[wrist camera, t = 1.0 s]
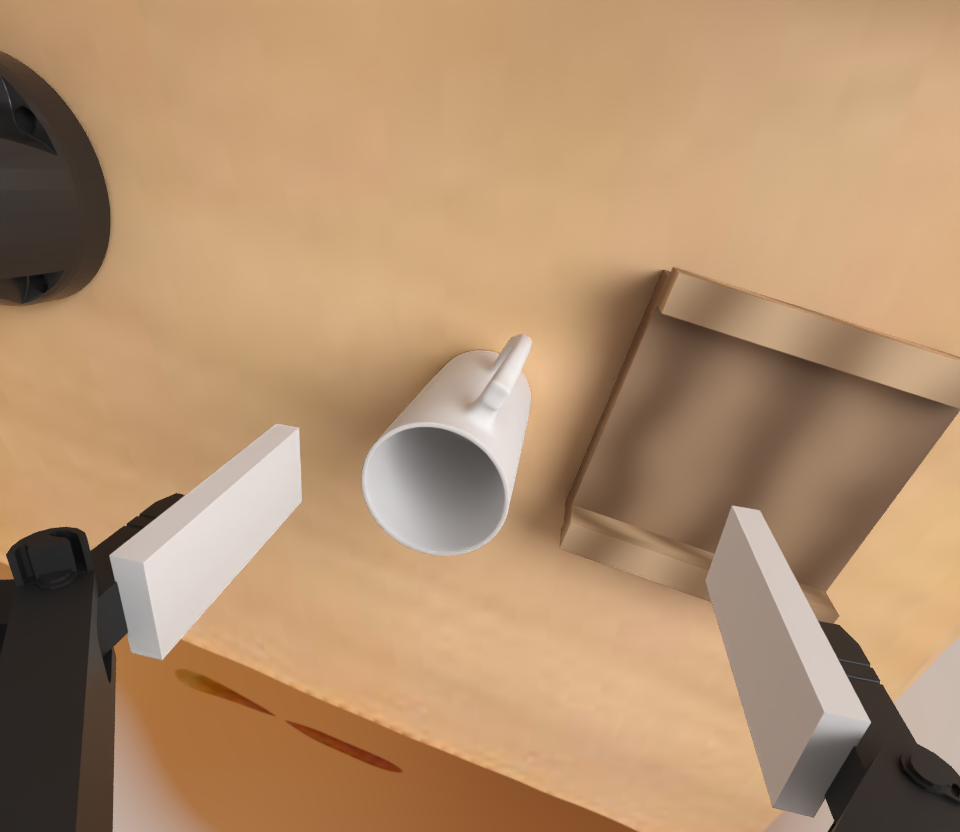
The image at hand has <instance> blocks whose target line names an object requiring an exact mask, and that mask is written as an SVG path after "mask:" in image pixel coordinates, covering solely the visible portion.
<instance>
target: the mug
mask: <svg viewBox="0 0 960 832" xmlns="http://www.w3.org/2000/svg"><path fill="white" fill-rule="evenodd" d="M531 346H532V340H531V339H530V338H529V337H528V336H526V335H524V334H519V335H517V336H514V337H512V338H511V339H510V340H509V341H508V342H507V344H506V345H505V347H504V348H503V350H502V352H501V353H500V354H498V353H495V352H492V351H486V350H474V351H469V352H465V353H462V354H460V355H458V356H456V357H454V358H453V359H452V360H450V361H449V362H448V363H447V364H446V365H445V366H444V367H443V368H442V369H441V370H440V371H439V372H438V373H437V374H436V375H435V376H434V377H433V378H432V379H431V381H430V382H429V383H428V384H427V385H426V386H425V387H424V388H423V390H422V391H421V392H420V393H419V394H418V395H417V396H416V397H415V398H414V399H413V400H412V402H411V403H410V404H409V405H408V406H407V407H406V408H405V409H404V410H403V411H402V412H401V414H400V415H399V416H398V417H397V418H396V419H395V420H394V421H393V422H392V423H391V425H390V426H389V427H388V428H387V429H386V430H385V432H384V433H383V434H382V435H381V437H380V438H379V439H378V440H377V441H376V442H375V443H374V445H373V446H372V447H371V449H370V450H369V452H368V454H367V456H366V458H365V461H364V464H363V468H362V475H361V484H362V492H363V496H364V499H365V502H366V505H367V507H368V509H369V511H370V513H371V515H372V516H373V518H374V519H375V521H376V522H377V523H378V524H379V526H380V527H381V528H382V529H383V530H384V531H385V532H386V533H387V534H388V535H389V536H391V537H392V538H393V539H395V540H396V541H397V542H399V543H401V544H402V545H404V546H406V547H408V548H411V549H413V550H416V551H419V552H422V553H426V554H431V555H439V556H452V555H459V554H464V553H468V552H471V551H473V550H476V549H478V548H480V547H481V546H483V545H485V544H486V543H487V542H489V541H490V540H491V539H492V538H493V537H494V536H495V535H496V534H497V533H498V531H499V530H500V529H501V527H502V525H503V524H504V521H505V519H506V517H507V513H508V510H509V503H510V500H511V496H512V492H513V487H514V483H515V478H516V473H517V469H518V464H519V459H520V454H521V450H522V445H523V441H524V436H525V432H526V427H527V423H528V417H529V412H530V407H531V391H530V387H529V384H528V381H527V379H526V377H525V375H524V374H523V372H522V371H521V370H522V368H523V365H524V363H525V361H526V358H527V356H528V354H529V351H530V349H531Z"/></svg>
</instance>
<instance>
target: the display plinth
mask: <svg viewBox="0 0 960 832" xmlns="http://www.w3.org/2000/svg"><path fill="white" fill-rule="evenodd" d="M959 411H960V357H958V356H954V355H951V354H948V353H945V352H942V351H938V350H935V349H932V348H929V347H926V346H923V345H919V344H916V343H913V342H910V341H907V340H903V339H900V338H897V337H894V336H891V335H888V334H884V333H881V332H878V331H875V330H872V329H869V328H865V327H862V326H859V325H856V324H853V323H849V322H846V321H843V320H840V319H837V318H834V317H830V316H827V315H824V314H821V313H818V312H815V311H811V310H808V309H805V308H802V307H799V306H795V305H792V304H789V303H786V302H783V301H780V300H776V299H773V298H770V297H767V296H764V295H761V294H757V293H754V292H751V291H748V290H745V289H741V288H738V287H735V286H732V285H729V284H726V283H722V282H719V281H716V280H713V279H710V278H707V277H703V276H700V275H697V274H694V273H691V272H687V271H684V270H681V269H678V268H675V267H673V268H672V271H671V272H669V271H666V270H663V271H662V274H661V276H660V278H659V281H658V283H657V286H656V288H655V290H654V293H653V295H652V297H651V300H650V302H649V305H648V307H647V309H646V312H645V314H644V317H643V319H642V321H641V324H640V326H639V329H638V331H637V333H636V336H635V338H634V340H633V343H632V345H631V348H630V350H629V352H628V355H627V357H626V360H625V362H624V364H623V367H622V369H621V372H620V374H619V376H618V379H617V381H616V383H615V386H614V388H613V391H612V393H611V395H610V398H609V400H608V403H607V405H606V407H605V410H604V412H603V414H602V417H601V419H600V422H599V424H598V426H597V429H596V431H595V434H594V436H593V438H592V441H591V443H590V446H589V448H588V450H587V453H586V455H585V457H584V460H583V462H582V465H581V467H580V469H579V472H578V474H577V477H576V479H575V481H574V484H573V486H572V489H571V491H570V493H569V496H568V498H567V500H566V505H565V517H564V524H563V527H562V529H561V539H560V549H562V550H565V551H568V552H571V553H573V554H576V555H579V556H582V557H585V558H588V559H590V560H593V561H596V562H599V563H602V564H605V565H608V566H610V567H613V568H616V569H619V570H622V571H625V572H628V573H630V574H633V575H636V576H639V577H642V578H645V579H648V580H650V581H653V582H656V583H659V584H662V585H665V586H667V587H670V588H673V589H676V590H679V591H682V592H685V593H687V594H690V595H693V596H696V597H699V598H702V599H705V600H707V601H710V602H711V598H710V595H709V591H708V588H707V585H706V581H705V580H706V577H707V574H708V572H709V569H710V566H711V563H712V560H713V558H714V555H715V552H716V549H717V546H718V543H719V541H720V538H721V535H722V532H723V529H724V527H725V524H726V521H727V518H728V515H729V512H730V510H731V507H732V505H733V506H738V507H744V508H749V509H755V510H760V511H761V513H762V515H763V517H764V519H765V521H766V523H767V525H768V527H769V529H770V531H771V532H772V534H773V536H774V538H775V540H776V542H777V544H778V546H779V548H780V550H781V551H782V553H783V555H784V557H785V559H786V561H787V563H788V565H789V567H790V569H791V571H792V572H793V574H794V576H795V578H796V580H797V582H798V584H799V586H800V588H801V590H802V592H803V593H804V595H805V597H806V599H807V601H808V603H809V605H810V607H811V609H812V611H813V613H814V614H815V616H816V618H817V620H818V621H822V622H827V623H832V624H833V623H834V622H835V621H836V620H837V618H838V617H839V615H838V613H837V611H836V609H835V608H834V606H833V604H832V602H831V601H830V599H829V597H828V595H827V594H826V591H827V590H828V588H829V587H830V585H831V584H832V583H833V581H834V580H835V579H836V577H837V576H838V575H839V573H840V572H841V571H842V569H843V568H844V567H845V565H846V564H847V563H848V561H849V560H850V558H851V557H852V556H853V554H854V553H855V552H856V550H857V549H858V548H859V546H860V545H861V544H862V542H863V541H864V540H865V538H866V537H867V535H868V534H869V533H870V531H871V530H872V529H873V527H874V526H875V525H876V523H877V522H878V521H879V519H880V518H881V517H882V515H883V514H884V513H885V511H886V510H887V508H888V507H889V506H890V504H891V503H892V502H893V500H894V499H895V498H896V496H897V495H898V494H899V492H900V491H901V490H902V488H903V487H904V485H905V484H906V483H907V481H908V480H909V479H910V477H911V476H912V475H913V473H914V472H915V471H916V469H917V468H918V467H919V465H920V464H921V463H922V461H923V460H924V458H925V457H926V456H927V454H928V453H929V452H930V450H931V449H932V448H933V446H934V445H935V444H936V442H937V441H938V440H939V438H940V437H941V435H942V434H943V433H944V431H945V430H946V429H947V427H948V426H949V425H950V423H951V422H952V421H953V419H954V418H955V417H956V415H957V414H958V413H959Z"/></svg>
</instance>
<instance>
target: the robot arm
mask: <svg viewBox="0 0 960 832" xmlns="http://www.w3.org/2000/svg"><path fill="white" fill-rule="evenodd" d="M109 234H110V207H109V199H108V193H107V188H106V184H105V180H104V176H103V173H102V170H101V167H100V164H99V161H98V158H97V156H96V154H95V151H94V149H93V147H92V145H91V143H90V141H89V139H88V137H87V135H86V133H85V131H84V130H83V128H82V126H81V125H80V123H79V121H78V120H77V118H76V117H75V115H74V114H73V112H72V111H71V110H70V108H69V107H68V106H67V104H66V103H65V102H64V101H63V99H62V98H61V97H60V96H59V95H58V94H57V93H56V91H55V90H54V89H53V88H52V87H51V86H50V85H49V84H48V83H47V82H46V81H45V80H43V79H42V78H41V77H40V76H39V75H38V74H37V73H35V72H34V71H33V70H32V69H30V68H29V67H27V66H26V65H25V64H23V63H22V62H20V61H18V60H17V59H15V58H13V57H11V56H10V55H8V54H6V53H3V52H1V51H0V305H7V306H23V305H33V304H38V303H42V302H47V301H52V300H56V299H61V298H64V297H67V296H70V295H72V294H74V293H76V292H78V291H79V290H81V289H82V288H83V287H85V286H86V285H87V284H88V283H89V282H90V281H91V280H92V278H93V277H94V276H95V274H96V273H97V271H98V270H99V268H100V266H101V264H102V262H103V259H104V257H105V254H106V250H107V246H108V241H109ZM301 502H302V489H301V464H300V439H299V427H293V426H287V425H282V424H275V425H274V426H272V427H271V428H270V429H269V430H267V431H266V432H265V433H264V434H262V435H261V436H260V437H258V438H257V439H256V440H255V441H253V442H252V443H251V444H250V445H248V446H247V447H246V448H245V449H243V450H242V451H241V452H239V453H238V454H237V455H236V456H234V457H233V458H232V459H231V460H229V461H228V462H227V463H226V464H224V465H223V466H222V467H220V468H219V469H218V470H217V471H215V472H214V473H213V474H212V475H210V476H209V477H208V478H207V479H205V480H204V481H203V482H201V483H200V484H199V485H198V486H196V487H195V488H194V489H193V490H191V491H190V492H189V493H188V494H186V495H182V494H177V493H176V494H173V495H171V496H169V497H166V498H164V499H162V500H159V501H157V502H155V503H154V504H152V505H151V506H150V507H148V508H147V509H146V510H144V511H143V512H142V513H140V516H139V517H138V516H136V517H135V518H134V519H132V520H131V521H130V522H128V523H127V526H123V527H122V528H120V529H119V530H118V531H116V532H115V533H114V534H112V535H111V536H110V537H108V538H107V539H106V540H105V541H103V542H102V543H101V544H99V545H98V546H97V547H95V548H94V549H93V550H91V551H90V549H89V544H88V540H87V537H86V534H85V532H83V531H81V530H79V529H78V528H70V527H60V528H51V529H47V530H43V531H39V532H36V533H34V534H32V535H29V536H27V537H25V538H23V539H21V540H20V541H18V542H17V543H16V544H14V545H13V546H12V547H11V548H10V550H9V551H8V553H7V554H6V556H7V559H8V562H9V565H10V568H11V571H12V574H13V577H14V579H12V580H0V832H112V829H113V779H114V778H113V777H114V732H115V731H114V730H115V728H114V727H115V683H116V682H115V681H116V655H115V651H114V646H115V645H116V644H117V643H118V642H119V641H120V640H121V639H122V638H123V637H124V636H125V635H126V634H127V636H128V640H129V645H130V649H131V652H132V653H135V654H140V655H143V656H148V657H152V658H156V659H160V660H163V658H164V657H165V656H166V655H167V654H168V653H169V652H170V650H171V649H172V648H173V647H174V646H175V645H176V644H177V643H178V641H179V640H180V639H181V638H182V637H183V636H184V635H185V634H186V632H187V631H188V630H189V629H190V628H191V627H192V626H193V624H194V623H195V622H196V621H197V620H198V619H199V618H200V616H201V615H202V614H203V613H204V612H205V611H206V610H207V609H208V607H209V606H210V605H211V604H212V603H213V602H214V601H215V599H216V598H217V597H218V596H219V595H220V594H221V593H222V592H223V590H224V589H225V588H226V587H227V586H228V585H229V584H230V582H231V581H232V580H233V579H234V578H235V577H236V576H237V575H238V573H239V572H240V571H241V570H242V569H243V568H244V567H245V565H246V564H247V563H248V562H249V561H250V560H251V559H252V557H253V556H254V555H255V554H256V553H257V552H258V551H259V550H260V548H261V547H262V546H263V545H264V544H265V543H266V542H267V540H268V539H269V538H270V537H271V536H272V535H273V534H274V533H275V531H276V530H277V529H278V528H279V527H280V526H281V525H282V523H283V522H284V521H285V520H286V519H287V518H288V517H289V515H290V514H291V513H292V512H293V511H294V510H295V509H296V508H297V506H298V505H299V504H300V503H301ZM705 581H706V585H707V588H708V591H709V595H710V598H711V602H712V605H713V608H714V612H715V615H716V618H717V622H718V625H719V629H720V632H721V635H722V639H723V642H724V645H725V649H726V652H727V656H728V659H729V662H730V666H731V669H732V672H733V676H734V679H735V683H736V686H737V689H738V693H739V696H740V699H741V703H742V706H743V709H744V713H745V716H746V720H747V723H748V726H749V730H750V733H751V736H752V740H753V743H754V747H755V750H756V753H757V757H758V760H759V763H760V767H761V770H762V774H763V777H764V780H765V784H766V787H767V790H768V794H769V797H770V800H771V804H772V807H773V808H776V809H781V810H785V811H789V812H793V813H797V814H801V815H805V816H810V817H814V816H815V815H816V813H817V811H818V810H819V808H820V806H821V805H822V803H823V801H824V800H825V798H826V801H827V803H828V806H829V808H830V811H831V814H832V816H833V819H834V822H833V824H832V826H831V827H830V829H829V830H828V832H960V776H959V775H958V774H957V773H956V772H955V770H954V769H953V768H952V767H951V766H950V765H949V764H947V763H946V762H945V761H944V760H942V759H941V758H940V757H939V756H937V755H936V754H935V753H933V752H931V751H929V750H928V749H926V748H924V747H922V746H920V745H918V744H917V743H916V741H915V739H914V738H913V736H912V734H911V733H910V731H909V729H908V728H907V726H906V724H905V723H904V721H903V719H902V717H901V716H900V714H899V712H898V710H897V709H896V707H895V705H894V704H893V702H892V700H891V698H890V697H889V695H888V693H887V692H886V690H885V688H884V686H883V685H881V684H880V680H879V678H878V676H877V675H876V673H875V671H874V669H873V668H870V663H869V661H868V659H867V657H866V656H865V654H864V652H863V651H862V649H861V647H860V646H859V644H858V643H857V642H856V641H855V640H854V639H853V638H852V637H851V636H850V635H849V634H848V633H847V632H846V631H845V630H844V629H843V628H842V627H841V626H840V625H837V624H832V623H827V622H822V621H818V620H817V618H816V616H815V614H814V613H813V611H812V609H811V607H810V605H809V603H808V601H807V599H806V597H805V595H804V593H803V592H802V590H801V588H800V586H799V584H798V582H797V580H796V578H795V576H794V574H793V572H792V571H791V569H790V567H789V565H788V563H787V561H786V559H785V557H784V555H783V553H782V551H781V550H780V548H779V546H778V544H777V542H776V540H775V538H774V536H773V534H772V532H771V531H770V529H769V527H768V525H767V523H766V521H765V519H764V517H763V515H762V513H761V511H760V510H755V509H749V508H744V507H738V506H733V505H732V507H731V510H730V512H729V515H728V518H727V521H726V524H725V527H724V529H723V532H722V535H721V538H720V541H719V543H718V546H717V549H716V552H715V555H714V558H713V560H712V563H711V566H710V569H709V572H708V574H707V577H706V580H705Z"/></svg>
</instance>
